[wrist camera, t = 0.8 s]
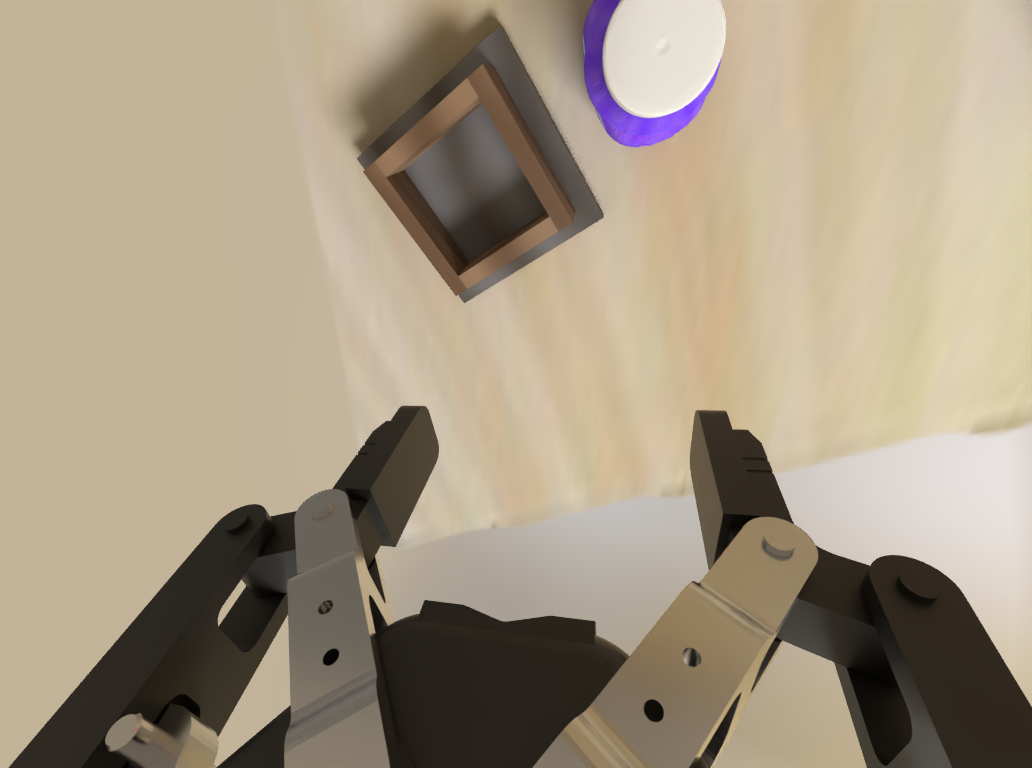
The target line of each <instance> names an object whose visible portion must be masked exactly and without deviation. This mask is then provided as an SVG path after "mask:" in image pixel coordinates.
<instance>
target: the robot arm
mask: <svg viewBox="0 0 1032 768" xmlns="http://www.w3.org/2000/svg"><path fill="white" fill-rule="evenodd" d="M438 454H439V445H438V440H437V437H436V434H435V430H434V427H433V424H432V420H431V417H430V414H429V411H428V409H427V407H425V406H401V407H400V408H399V409H398V411H397V412H396V414H395V415H394V417H393V418H392V420H391V421H386V422H384V423H383V424H382V425H381V426H379V427H378V428H377V429H376V430H374V431H373V432H372V434H371V435H370V436H369V438H368V439H367V441H366V442H365V445H363V446H362V448H361V449H360V451H359V452H358V455H356V457H355V458H354V459H353V461H352V462H351V463H350V465H349V466H348V468H347V469H346V470H345V472H344V473H343V475H342V476H341V477H340V479H339V480H338V482H337V483H336V484H335V486H334V487H333V489H329V490H325V491H321V492H319V493H317V494H315V495H313V496H311V497H310V498H308V499H307V500H306V501H305V502H303V504H302V505H301V506H300V507H299V508H298V510H297V511H295V512H290V513H285V514H281V515H276V516H271V517H270V516H269V514H268V512H267V511H266V510H265V508H264V507H263V506H261V505H256V504H252V505H246V506H243V507H240V508H238V509H236V510H234V511H232V512H230V513H228V514H227V515H226V516H224V517H223V518H222V519H221V520H220V521H219V522H218V523H217V524H216V525H215V526H214V527H213V528H212V530H211V531H210V532H209V533H208V534H207V535H206V537H205V538H204V539H203V540H202V541H201V543H200V544H199V545H198V546H197V547H196V548H195V549H194V551H193V552H192V553H191V554H190V556H188V558H187V559H186V560H185V561H184V562H183V564H182V565H181V566H180V567H179V568H178V569H177V571H176V572H175V573H174V574H173V575H172V576H171V578H170V579H169V580H168V581H167V582H166V584H165V585H164V586H163V587H162V588H161V589H160V591H159V592H158V593H157V594H156V595H155V596H154V598H153V599H152V600H151V601H150V602H149V603H148V605H147V606H146V607H145V608H144V609H143V611H142V612H141V613H140V614H139V615H138V616H137V618H136V619H135V620H134V621H133V622H132V623H131V625H130V626H129V627H128V628H127V629H126V631H125V632H124V633H123V634H122V635H121V636H120V638H119V639H118V640H117V641H116V642H115V643H114V645H113V646H112V647H111V648H110V650H108V652H107V653H106V654H105V655H104V656H103V657H102V659H101V660H100V661H99V662H98V663H97V665H96V666H95V667H94V668H93V669H92V670H91V672H90V673H89V674H88V675H87V676H86V678H85V679H84V680H83V681H82V682H81V683H80V684H79V686H78V687H77V688H76V689H75V690H74V692H73V693H72V694H71V695H70V696H69V697H68V699H67V700H66V701H65V702H64V703H63V704H62V706H61V707H60V708H59V709H58V710H57V712H56V713H55V714H54V715H53V716H52V717H51V719H50V720H49V721H48V722H47V723H46V724H45V726H44V727H43V728H42V729H41V730H40V732H39V733H38V734H37V735H36V736H35V737H34V738H33V740H32V741H31V742H30V743H29V744H28V746H27V747H26V748H25V749H24V750H23V751H22V753H21V754H20V755H19V756H18V757H17V758H16V760H15V761H14V762H13V763H12V764H11V766H10V767H9V768H713V767H714V765H715V763H716V762H717V760H718V758H719V756H720V755H721V753H722V751H723V749H724V748H725V746H726V744H727V742H728V741H729V739H730V737H731V735H732V734H733V732H734V730H735V728H736V726H737V724H738V722H739V720H740V718H741V716H742V714H743V712H744V710H745V708H746V706H747V704H748V702H749V700H750V698H751V697H752V695H753V693H754V691H755V690H756V688H757V686H758V685H759V683H760V681H761V680H762V678H763V676H764V674H765V673H766V671H767V669H768V667H769V666H770V664H771V662H772V660H773V659H774V657H775V655H776V654H777V652H778V650H779V648H780V647H781V645H782V643H783V642H784V641H785V642H788V643H790V644H792V645H795V646H797V647H799V648H802V649H804V650H807V651H809V652H812V653H814V654H816V655H819V656H821V657H823V658H826V659H828V660H831V661H833V662H834V663H835V666H836V670H837V673H838V676H839V679H840V682H841V686H842V689H843V692H844V695H845V698H846V701H847V705H848V708H849V711H850V714H851V718H852V721H853V724H854V727H855V730H856V733H857V737H858V740H859V743H860V746H861V750H862V753H863V756H864V759H865V762H866V766H867V768H1032V707H1031V705H1030V703H1029V702H1028V700H1027V698H1026V697H1025V695H1024V694H1023V692H1022V690H1021V689H1020V687H1019V685H1018V684H1017V682H1016V680H1015V679H1014V677H1013V675H1012V674H1011V672H1010V670H1009V669H1008V667H1007V666H1006V664H1005V662H1004V660H1003V659H1002V657H1001V655H1000V654H999V652H998V651H997V649H996V647H995V646H994V644H993V642H992V641H991V639H990V637H989V636H988V634H987V632H986V631H985V629H984V627H983V626H982V624H981V622H980V621H979V619H978V617H977V616H976V614H975V612H974V611H973V609H972V607H971V606H970V604H969V602H968V601H967V599H966V598H965V596H964V594H963V593H962V592H961V590H960V589H959V588H958V586H957V585H956V584H955V583H954V582H953V581H952V580H950V579H949V578H948V577H947V576H946V575H944V574H943V573H941V572H940V571H939V570H937V569H935V568H933V567H932V566H930V565H928V564H926V563H924V562H921V561H919V560H916V559H913V558H909V557H905V556H898V555H888V556H883V557H880V558H878V559H876V560H875V561H874V562H873V563H872V564H871V566H869V565H866V564H863V563H860V562H856V561H853V560H850V559H847V558H844V557H841V556H838V555H835V554H832V553H829V552H827V551H825V550H823V549H821V548H819V547H818V546H816V545H815V543H814V542H813V540H812V539H811V538H810V536H809V535H808V534H807V533H806V532H804V531H803V530H802V529H801V528H799V527H797V526H796V525H794V523H793V521H792V519H791V516H790V514H789V511H788V509H787V506H786V504H785V501H784V499H783V496H782V494H781V491H780V489H779V486H778V484H777V481H776V479H775V476H774V474H772V468H771V466H770V463H769V461H767V456H766V453H765V451H764V448H763V446H762V443H761V442H760V441H759V440H758V439H757V438H755V437H754V436H753V435H752V434H751V433H750V432H749V431H748V430H732V427H731V424H730V421H729V417H728V415H727V412H726V411H709V410H697V411H696V412H695V417H694V425H693V433H692V442H691V450H690V470H691V477H692V482H693V487H694V493H695V498H696V504H697V509H698V514H699V520H700V525H701V530H702V535H703V541H704V547H705V552H706V557H707V563H708V568H709V572H708V573H707V574H706V575H705V577H704V578H703V579H702V580H701V581H700V582H699V583H696V582H695V581H692V582H691V583H690V584H688V585H687V586H686V587H685V588H684V589H683V590H682V592H681V593H680V594H679V595H678V597H677V598H676V599H675V600H674V602H673V603H672V604H671V605H670V607H669V608H668V609H667V611H666V612H665V613H664V614H663V615H662V617H661V618H660V619H659V620H658V622H657V623H656V624H655V625H654V627H653V628H652V629H651V630H650V632H649V633H648V634H647V635H646V637H645V638H644V639H643V640H642V642H641V643H640V644H639V645H638V647H637V648H636V649H635V650H634V652H633V653H632V654H631V655H630V656H629V655H628V654H627V653H625V652H624V651H623V650H621V649H620V648H619V647H617V646H616V645H614V644H612V643H611V642H609V641H607V640H605V639H603V638H601V637H598V636H596V626H595V625H596V624H595V621H588V620H580V619H571V618H564V617H556V616H546V617H538V618H531V619H524V620H516V621H509V622H503V621H499V620H497V619H495V618H492V617H490V616H488V615H486V614H483V613H481V612H479V611H476V610H474V609H472V608H470V607H467V606H465V605H459V604H451V603H443V602H436V601H428V600H425V601H424V603H423V606H422V609H421V611H420V614H416V615H412V616H409V617H405V618H403V619H400V620H399V621H396V622H395V621H394V618H393V615H392V612H391V608H390V604H389V600H388V596H387V592H386V588H385V584H384V580H383V576H382V572H381V568H380V564H379V560H378V557H377V555H376V553H377V551H378V550H379V548H380V546H392V547H396V545H397V543H398V541H399V539H400V537H401V534H402V532H403V530H404V528H405V526H406V524H407V522H408V520H409V518H410V516H411V514H412V512H413V510H414V508H415V505H416V503H417V501H418V499H419V497H420V495H421V493H422V491H423V489H424V487H425V485H426V483H427V481H428V479H429V476H430V474H431V472H432V470H433V468H434V466H435V464H436V462H437V459H438ZM241 579H242V581H243V582H244V583H245V584H246V588H245V589H244V590H243V592H242V593H241V595H240V596H239V598H238V599H237V601H236V602H235V603H234V605H233V606H232V608H231V609H230V611H229V612H228V614H227V615H226V617H225V618H224V620H223V621H222V622H221V624H220V625H219V627H218V615H219V612H220V609H221V608H222V606H223V605H224V603H225V602H226V600H227V599H228V597H229V596H230V595H231V593H232V592H233V590H234V589H235V587H236V586H237V585H238V583H239V582H240V580H241ZM287 615H288V624H289V659H290V696H291V705H290V706H289V707H288V708H287V709H285V710H284V711H283V712H282V713H281V714H279V715H278V716H277V717H276V718H275V719H274V720H272V721H271V722H270V723H269V724H268V725H267V726H265V727H264V728H263V729H262V730H261V731H259V732H258V733H257V734H256V735H255V736H253V737H252V738H251V739H250V740H249V741H248V742H246V743H245V744H244V745H243V746H241V747H240V748H239V749H238V750H237V751H236V752H234V753H233V754H232V755H231V756H230V757H228V758H227V759H226V760H225V761H224V762H223V763H222V764H220V765H219V766H218V767H215V765H214V762H215V759H216V756H217V751H218V736H219V734H220V733H221V731H222V729H223V727H224V726H225V724H226V722H227V720H228V719H229V717H230V715H231V713H232V712H233V710H234V708H235V706H236V705H237V703H238V701H239V699H240V698H241V696H242V694H243V692H244V690H245V689H246V687H247V685H248V683H249V682H250V680H251V678H252V676H253V675H254V673H255V671H256V669H257V668H258V666H259V664H260V662H261V661H262V659H263V657H264V655H265V654H266V652H267V650H268V648H269V646H270V645H271V643H272V641H273V639H274V638H275V636H276V634H277V632H278V631H279V629H280V627H281V625H282V624H283V622H284V620H285V618H286V617H287Z"/></svg>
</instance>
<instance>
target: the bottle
mask: <svg viewBox="0 0 1032 768" xmlns="http://www.w3.org/2000/svg"><path fill="white" fill-rule="evenodd" d="M725 38H726V19H725V12H724V7H723V5H722V2H721V0H594V2H593V4H592V5H591V7H590V9H589V12H588V14H587V17H586V20H585V25H584V31H583V56H584V70H585V82H586V87H587V91H588V94H589V97H590V99H591V101H592V103H593V105H594V106H595V109H596V112H597V115H598V118H599V120H600V122H601V124H602V125H603V127H604V129H605V130H606V132H607V133H608V134H609V135H610V137H611V138H613V139H614V140H615V141H617V142H618V143H620V144H622V145H625V146H630V147H640V146H644V145H647V146H649V145H653V144H655V143H658V142H661V141H663V140H666V139H668V138H670V137H672V136H673V135H674V134H675V133H677V132H679V131H680V130H681V129H683V128H684V127H685V126H687V125H688V124H689V122H690V121H691V120H692V119H693V118H694V117H695V116H696V115H697V113H698V112H699V111H700V109H701V107H702V105H703V103H704V100H705V98H706V96H707V95H708V93H709V92H710V90H711V88H712V86H713V84H714V82H715V80H716V76H717V73H718V69H719V66H720V62H721V57H722V53H723V49H724V44H725Z"/></svg>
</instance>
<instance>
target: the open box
mask: <svg viewBox="0 0 1032 768" xmlns="http://www.w3.org/2000/svg"><path fill="white" fill-rule="evenodd" d="M357 159H358V161H359V162H360V164H361V165H362V166H363V168H364V169H365V171H364V174H365V175H366V176H367V178H368V179H369V180H370V182H371V183H372V184H373V186H374V187H375V188H376V190H377V191H378V192H379V194H380V195H381V196H382V198H383V199H384V200H385V202H386V203H387V204H388V206H389V207H390V208H391V210H392V211H393V212H394V214H395V215H396V216H397V218H398V219H399V220H400V222H401V223H402V224H403V226H404V227H405V228H406V230H407V231H408V232H409V234H410V235H411V236H412V238H413V239H414V240H415V242H416V243H417V244H418V246H419V247H420V248H421V250H422V251H423V252H424V254H425V255H426V256H427V258H428V259H429V261H430V262H431V263H432V265H433V266H434V267H435V269H436V270H437V271H438V273H439V274H440V275H441V277H442V278H443V279H444V281H445V282H446V283H447V285H448V286H449V287H450V289H451V290H452V291H453V293H454V294H455V295H456V296H457V295H459V297H460V298H461V299H462V301H463V302H464V303H465V302H467V301H469V300H470V299H472V298H474V297H475V296H477V295H478V294H480V293H482V292H483V291H485V290H487V289H488V288H490V287H491V286H493V285H495V284H496V283H498V282H500V281H501V280H503V279H504V278H506V277H508V276H509V275H511V274H513V273H514V272H516V271H517V270H519V269H521V268H522V267H524V266H526V265H527V264H529V263H530V262H532V261H534V260H535V259H537V258H539V257H540V256H542V255H544V254H545V253H547V252H548V251H550V250H552V249H553V248H555V247H557V246H558V245H560V244H561V243H563V242H565V241H566V240H568V239H570V238H571V237H573V236H574V235H576V234H578V233H579V232H581V231H583V230H584V229H586V228H587V227H589V226H591V225H592V224H594V223H596V222H597V221H599V220H600V219H602V218H603V212H602V210H601V208H600V207H599V205H598V203H597V201H596V199H595V197H594V195H593V194H592V192H591V190H590V188H589V186H588V184H587V182H586V181H585V179H584V177H583V175H582V173H581V171H580V169H579V168H578V166H577V164H576V162H575V160H574V158H573V156H572V155H571V153H570V151H569V149H568V147H567V145H566V143H565V142H564V140H563V138H562V136H561V134H560V132H559V130H558V129H557V127H556V125H555V123H554V121H553V119H552V117H551V116H550V114H549V112H548V110H547V108H546V106H545V104H544V102H543V101H542V99H541V97H540V95H539V93H538V91H537V89H536V88H535V86H534V84H533V82H532V80H531V78H530V76H529V75H528V73H527V71H526V69H525V67H524V65H523V63H522V62H521V60H520V58H519V56H518V54H517V52H516V50H515V49H514V47H513V45H512V43H511V41H510V39H509V37H508V36H507V34H506V32H505V30H504V28H503V27H502V26H500V25H499V26H498V27H497V28H496V29H495V30H494V31H493V32H492V33H491V34H489V35H488V36H487V37H486V38H485V39H484V40H483V41H482V42H481V43H480V44H479V45H478V46H477V47H476V48H475V49H473V50H472V51H471V52H470V53H469V54H468V55H467V56H466V57H465V58H464V59H463V60H462V61H461V62H460V63H458V64H457V65H456V66H455V67H454V68H453V69H452V70H451V71H450V72H449V73H448V74H447V75H446V76H445V77H443V78H442V79H441V80H440V81H439V82H438V83H437V84H436V85H435V86H434V87H433V88H432V89H431V90H430V91H429V92H427V93H426V94H425V95H424V96H423V97H422V98H421V99H420V100H419V101H418V102H417V103H416V104H415V105H414V106H412V107H411V108H410V109H409V110H408V111H407V112H406V113H405V114H404V115H403V116H402V117H401V118H400V119H399V120H397V121H396V122H395V123H394V124H393V125H392V126H391V127H390V128H389V129H388V130H387V131H386V132H385V133H384V134H383V135H381V136H380V137H379V138H378V139H377V140H376V141H375V142H374V143H373V144H372V145H371V146H370V147H369V148H368V149H366V150H365V151H364V152H363V153H362V154H361V155H360V156H359V157H358V158H357Z"/></svg>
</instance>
